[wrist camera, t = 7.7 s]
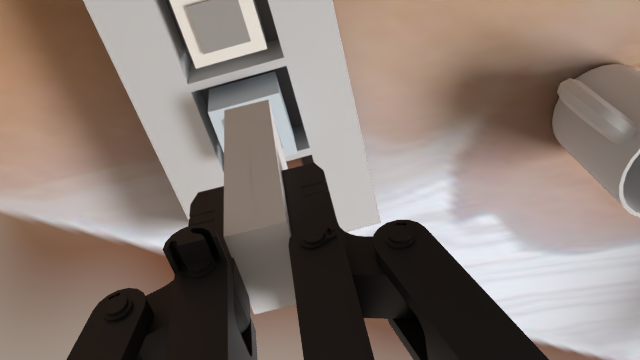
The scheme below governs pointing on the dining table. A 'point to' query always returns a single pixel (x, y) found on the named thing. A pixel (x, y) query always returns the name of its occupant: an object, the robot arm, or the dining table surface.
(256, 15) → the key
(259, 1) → the keypad
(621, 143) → the cup
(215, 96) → the key mid
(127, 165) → the dining table surface
